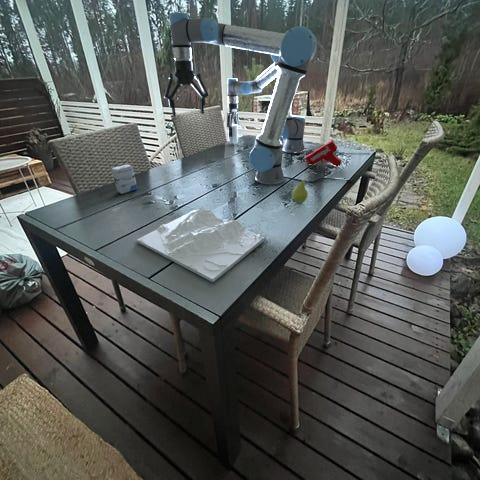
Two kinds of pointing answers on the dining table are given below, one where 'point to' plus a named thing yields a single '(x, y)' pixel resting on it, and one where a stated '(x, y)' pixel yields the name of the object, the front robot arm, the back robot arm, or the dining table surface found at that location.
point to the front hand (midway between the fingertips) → (188, 114)
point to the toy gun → (324, 155)
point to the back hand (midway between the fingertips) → (233, 135)
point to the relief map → (202, 243)
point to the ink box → (124, 178)
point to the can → (233, 133)
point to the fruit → (300, 192)
